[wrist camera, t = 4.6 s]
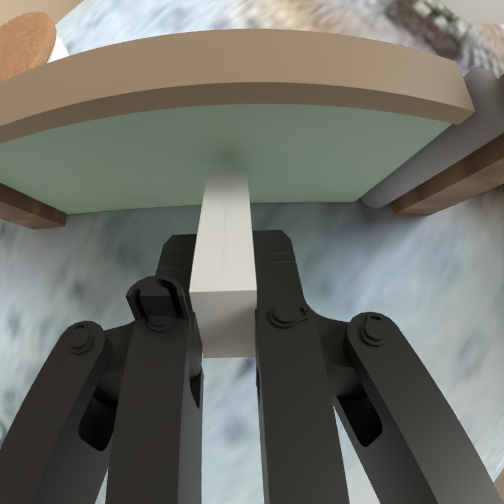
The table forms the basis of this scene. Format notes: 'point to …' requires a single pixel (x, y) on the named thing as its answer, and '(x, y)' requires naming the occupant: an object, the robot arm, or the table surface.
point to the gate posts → (413, 202)
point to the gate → (240, 120)
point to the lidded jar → (28, 44)
